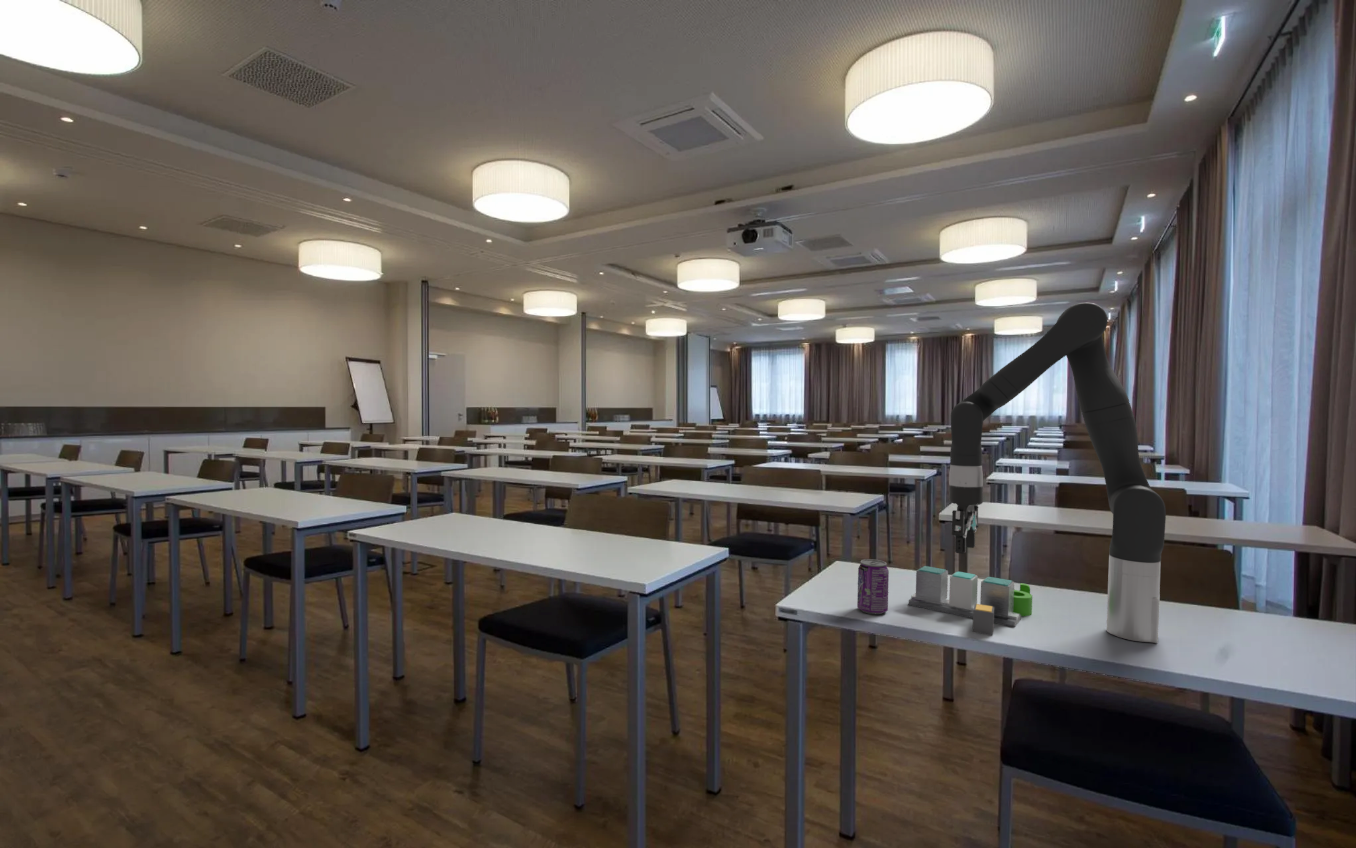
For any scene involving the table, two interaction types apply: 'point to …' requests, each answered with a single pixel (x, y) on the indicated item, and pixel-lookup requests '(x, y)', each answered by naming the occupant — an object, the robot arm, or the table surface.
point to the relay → (983, 619)
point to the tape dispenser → (1023, 600)
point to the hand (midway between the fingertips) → (965, 550)
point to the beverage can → (873, 586)
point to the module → (963, 590)
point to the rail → (935, 598)
